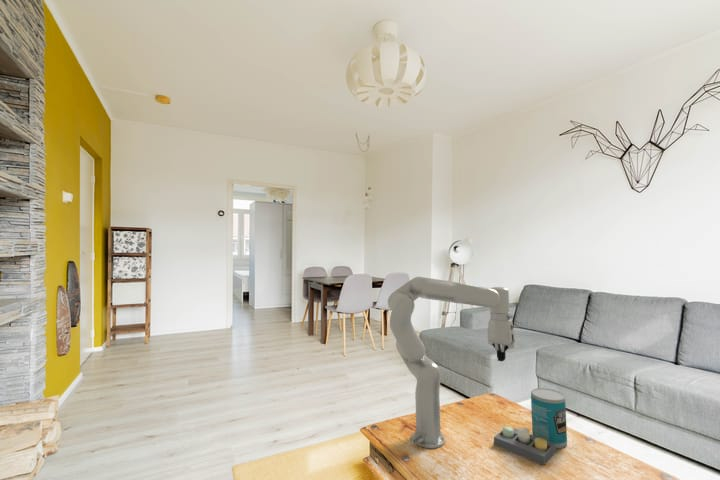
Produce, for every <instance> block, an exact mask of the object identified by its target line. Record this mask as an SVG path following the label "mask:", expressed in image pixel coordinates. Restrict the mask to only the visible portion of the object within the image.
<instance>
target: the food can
mask: <svg viewBox="0 0 720 480" xmlns="http://www.w3.org/2000/svg"><path fill="white" fill-rule="evenodd" d="M530 404H531V405H530V406H531V408H530V409H531V427H532V432H531V433H532V434H531V435H534V436H537V437H539V438H543V439H545V440H548V441H551V442H554V443H555V447H556V449H563V448H565V447H566V446H567V444H568V434H567V433H568V432H567V431H568V430H567V407H566V396H565V394H563V393H561V392H560V391H557V390H554V389H551V388H545V387H544V388H543V387H539V388H538V387H536V388H534V389H532V390H531V391H530Z"/></svg>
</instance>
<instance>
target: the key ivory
mask: <svg viewBox="0 0 720 480" xmlns="http://www.w3.org/2000/svg"><path fill="white" fill-rule="evenodd" d="M517 430H518V440H519V441H520V442H522V443H526V444H527V443H530V434H531V432H530V429H529V428H528V427H524V426H523V427H522V426H520V427H518V428H517Z"/></svg>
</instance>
